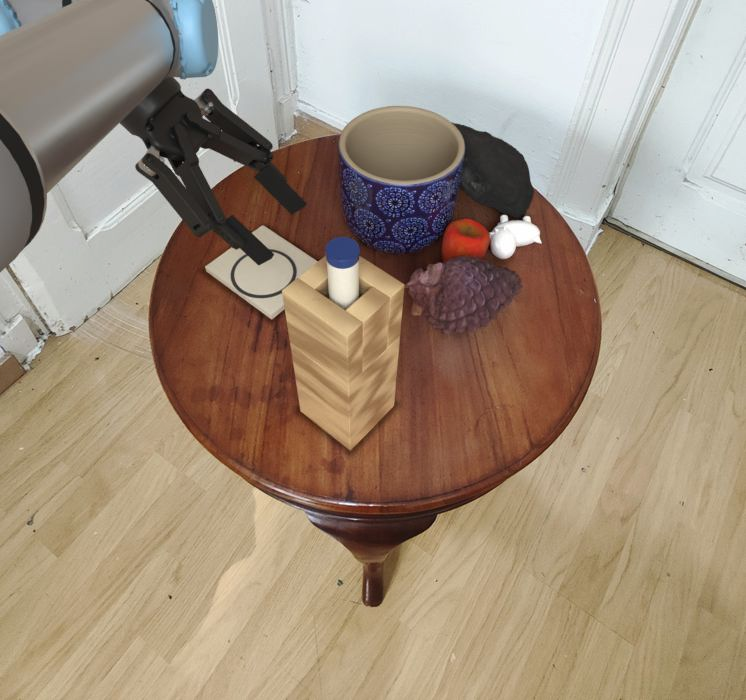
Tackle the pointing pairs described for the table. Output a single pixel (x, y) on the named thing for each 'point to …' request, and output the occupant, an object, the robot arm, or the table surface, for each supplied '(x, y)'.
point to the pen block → (345, 350)
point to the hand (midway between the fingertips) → (283, 233)
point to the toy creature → (512, 236)
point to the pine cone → (462, 293)
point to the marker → (343, 271)
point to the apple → (465, 240)
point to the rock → (495, 173)
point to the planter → (399, 177)
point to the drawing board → (262, 272)
